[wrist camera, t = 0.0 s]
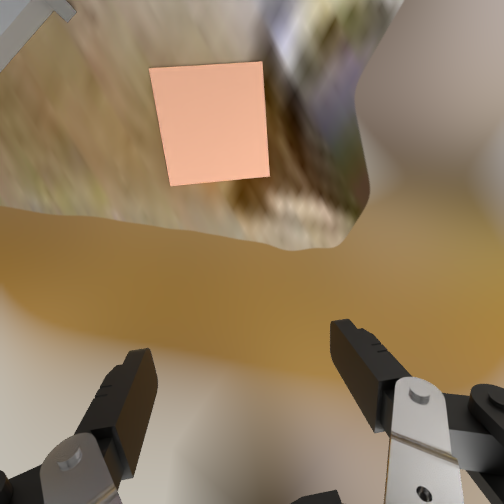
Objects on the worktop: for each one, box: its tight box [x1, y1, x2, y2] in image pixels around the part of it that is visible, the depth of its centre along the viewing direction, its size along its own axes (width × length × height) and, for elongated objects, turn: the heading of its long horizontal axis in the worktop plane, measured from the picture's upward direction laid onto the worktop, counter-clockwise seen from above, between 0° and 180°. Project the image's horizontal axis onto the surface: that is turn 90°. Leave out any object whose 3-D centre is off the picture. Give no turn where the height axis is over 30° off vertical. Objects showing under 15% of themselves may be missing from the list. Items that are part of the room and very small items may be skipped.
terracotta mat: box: [149, 61, 270, 186], centre depth 35 cm, size 14×14×1 cm
